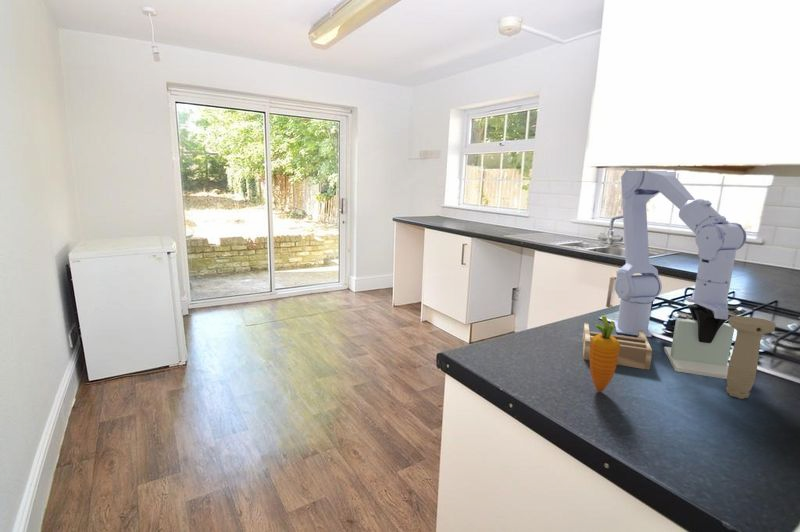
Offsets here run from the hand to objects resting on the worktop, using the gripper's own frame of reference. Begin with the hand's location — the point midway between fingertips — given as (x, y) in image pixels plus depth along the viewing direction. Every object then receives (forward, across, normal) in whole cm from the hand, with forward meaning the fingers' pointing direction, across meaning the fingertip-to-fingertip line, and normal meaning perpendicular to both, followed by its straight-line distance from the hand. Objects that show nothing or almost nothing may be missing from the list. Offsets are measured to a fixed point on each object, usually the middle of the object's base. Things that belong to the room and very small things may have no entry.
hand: (702, 339), depth 86 cm
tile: (+6, 0, 0) cm, 6 cm away
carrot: (+6, +21, -22) cm, 31 cm away
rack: (+6, 0, -17) cm, 18 cm away
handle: (+6, +13, +2) cm, 15 cm away
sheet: (+5, 0, 0) cm, 5 cm away
